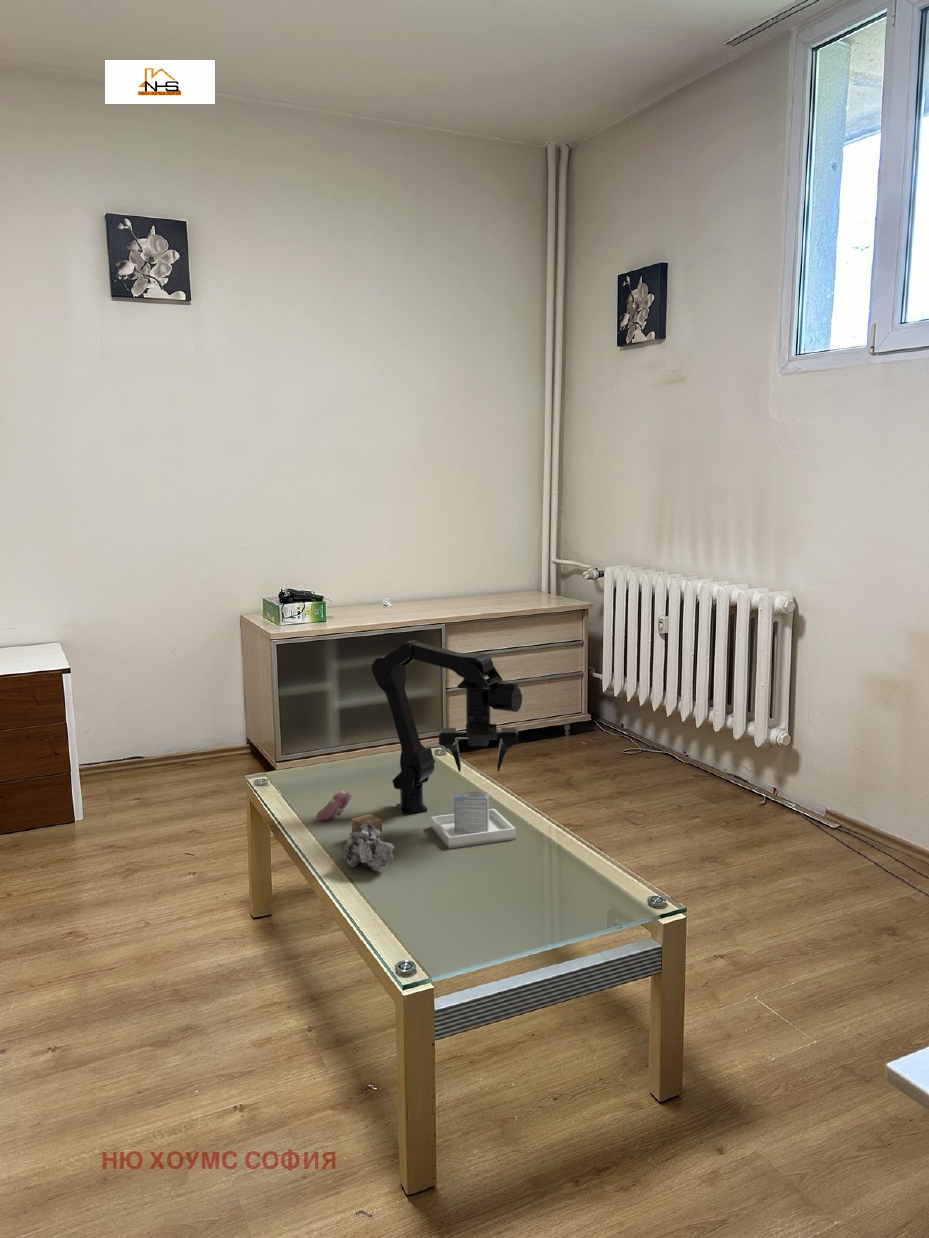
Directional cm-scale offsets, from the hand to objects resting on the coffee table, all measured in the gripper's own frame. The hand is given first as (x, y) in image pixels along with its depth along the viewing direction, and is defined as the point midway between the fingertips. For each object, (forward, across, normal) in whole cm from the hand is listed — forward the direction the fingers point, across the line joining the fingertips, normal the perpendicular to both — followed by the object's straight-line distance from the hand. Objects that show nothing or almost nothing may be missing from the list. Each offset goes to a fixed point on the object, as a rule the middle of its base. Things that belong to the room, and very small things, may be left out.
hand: (479, 771), depth 220 cm
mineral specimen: (+13, -24, -26) cm, 37 cm away
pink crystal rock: (+13, -36, +4) cm, 38 cm away
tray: (+12, -2, -7) cm, 15 cm away
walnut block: (+13, -26, -11) cm, 31 cm away
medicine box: (+12, -2, -7) cm, 14 cm away
